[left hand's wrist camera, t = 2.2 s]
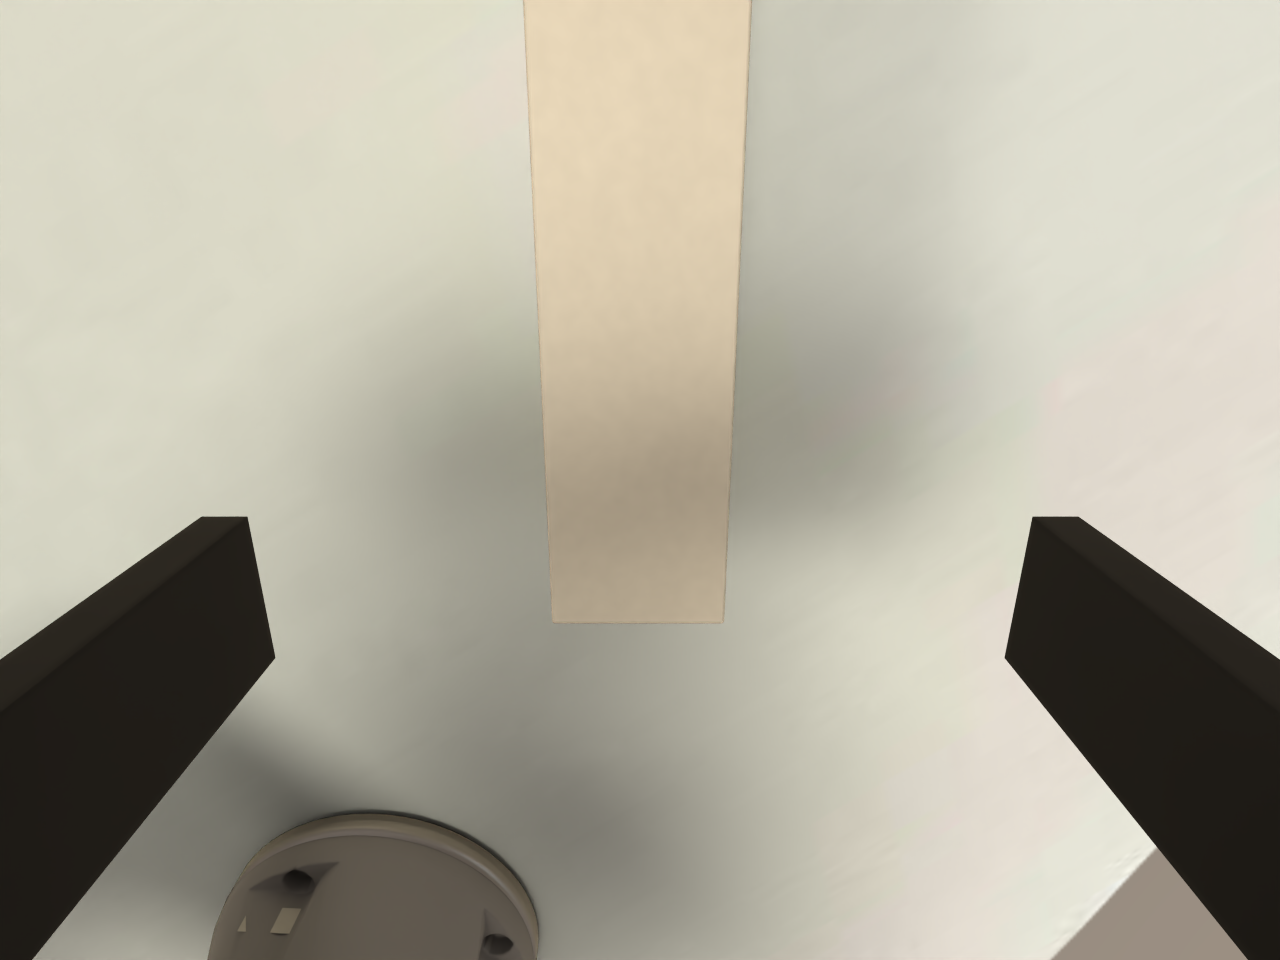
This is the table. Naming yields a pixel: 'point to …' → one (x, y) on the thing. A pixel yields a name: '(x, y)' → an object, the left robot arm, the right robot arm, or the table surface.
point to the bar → (637, 296)
